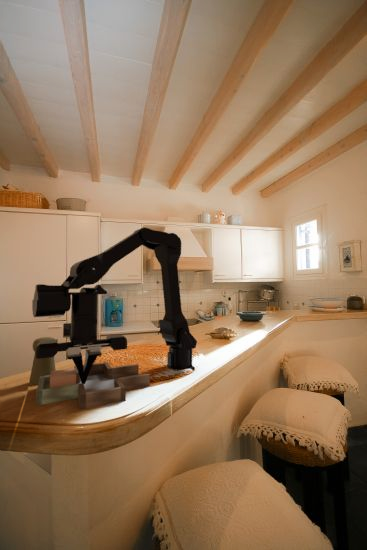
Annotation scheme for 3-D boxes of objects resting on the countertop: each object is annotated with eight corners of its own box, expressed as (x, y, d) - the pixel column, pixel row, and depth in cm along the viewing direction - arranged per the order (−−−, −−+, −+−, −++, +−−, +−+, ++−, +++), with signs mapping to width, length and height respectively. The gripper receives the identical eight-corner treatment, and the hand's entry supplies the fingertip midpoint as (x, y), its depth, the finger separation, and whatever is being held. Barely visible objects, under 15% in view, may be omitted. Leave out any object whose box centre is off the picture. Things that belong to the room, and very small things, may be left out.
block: (74, 385, 58) (74, 368, 58) (75, 393, 53) (76, 374, 54) (50, 389, 55) (50, 371, 56) (49, 398, 51) (50, 378, 51)
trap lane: (131, 370, 72) (132, 359, 72) (157, 397, 53) (158, 382, 53) (40, 382, 61) (41, 369, 62) (33, 421, 43) (33, 403, 43)
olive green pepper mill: (44, 388, 58) (46, 340, 59) (22, 386, 59) (24, 339, 60) (61, 379, 64) (63, 336, 65) (41, 377, 65) (43, 335, 66)
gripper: (117, 310, 69) (117, 368, 67) (40, 313, 60) (38, 379, 59) (128, 313, 59) (127, 381, 58) (37, 317, 50) (34, 396, 49)
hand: (83, 383), depth 56 cm, fingers closed
